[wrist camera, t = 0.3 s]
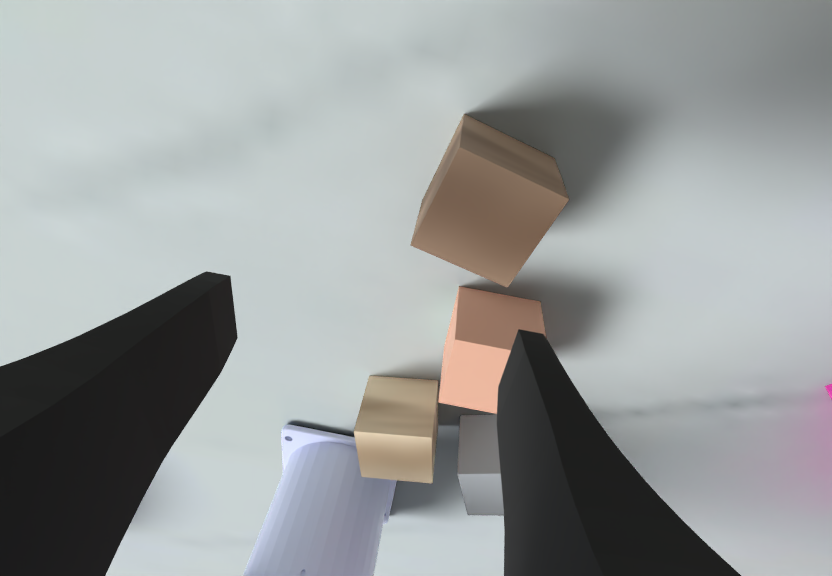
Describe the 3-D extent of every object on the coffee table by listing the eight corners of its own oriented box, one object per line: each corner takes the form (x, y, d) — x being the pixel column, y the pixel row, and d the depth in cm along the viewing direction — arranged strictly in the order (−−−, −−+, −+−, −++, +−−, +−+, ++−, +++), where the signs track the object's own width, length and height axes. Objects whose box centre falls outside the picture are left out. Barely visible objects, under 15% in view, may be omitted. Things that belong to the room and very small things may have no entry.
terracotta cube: (517, 358, 25) (522, 418, 21) (444, 344, 25) (438, 402, 21) (540, 300, 22) (549, 357, 19) (459, 285, 22) (454, 339, 19)
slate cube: (532, 454, 29) (538, 515, 26) (469, 455, 30) (467, 515, 27) (527, 411, 27) (534, 473, 24) (460, 414, 28) (457, 474, 25)
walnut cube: (503, 236, 21) (507, 287, 17) (422, 199, 20) (410, 245, 17) (554, 157, 18) (569, 199, 15) (464, 113, 18) (459, 146, 15)
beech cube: (438, 424, 29) (432, 483, 25) (375, 419, 29) (361, 476, 26) (438, 379, 26) (431, 437, 23) (369, 374, 27) (353, 431, 24)
